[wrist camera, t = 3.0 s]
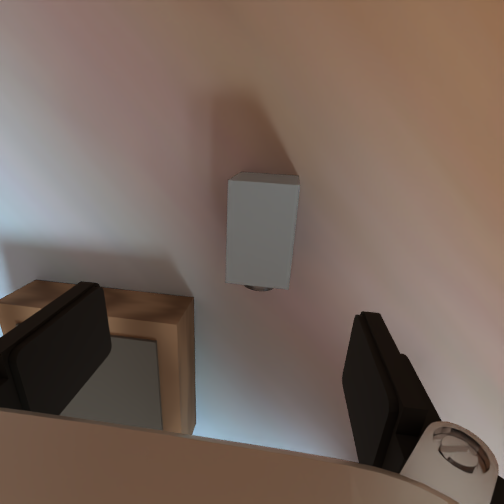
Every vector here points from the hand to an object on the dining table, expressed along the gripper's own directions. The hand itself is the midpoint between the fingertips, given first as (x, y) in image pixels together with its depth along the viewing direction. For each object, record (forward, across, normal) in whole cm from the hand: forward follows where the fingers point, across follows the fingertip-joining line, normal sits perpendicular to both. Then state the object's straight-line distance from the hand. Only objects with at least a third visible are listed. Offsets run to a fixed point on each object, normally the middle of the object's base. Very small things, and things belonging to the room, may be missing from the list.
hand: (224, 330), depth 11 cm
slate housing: (+18, 0, 0) cm, 18 cm away
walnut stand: (+18, +16, +18) cm, 30 cm away
